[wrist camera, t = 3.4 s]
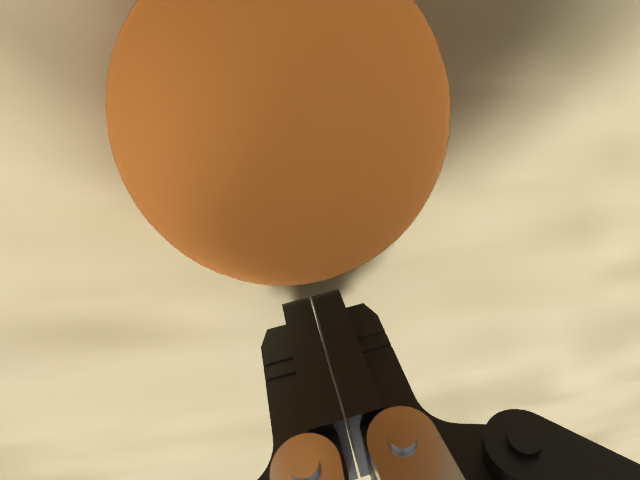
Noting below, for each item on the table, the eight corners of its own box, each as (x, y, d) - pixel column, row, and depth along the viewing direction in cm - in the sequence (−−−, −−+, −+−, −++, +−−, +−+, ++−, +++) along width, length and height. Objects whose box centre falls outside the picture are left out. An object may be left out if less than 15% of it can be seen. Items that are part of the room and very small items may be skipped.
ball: (85, -32, 7) (-77, -15, 3) (372, -91, 8) (557, -143, 4) (187, 218, 10) (170, 399, 6) (393, 166, 10) (509, 303, 6)
